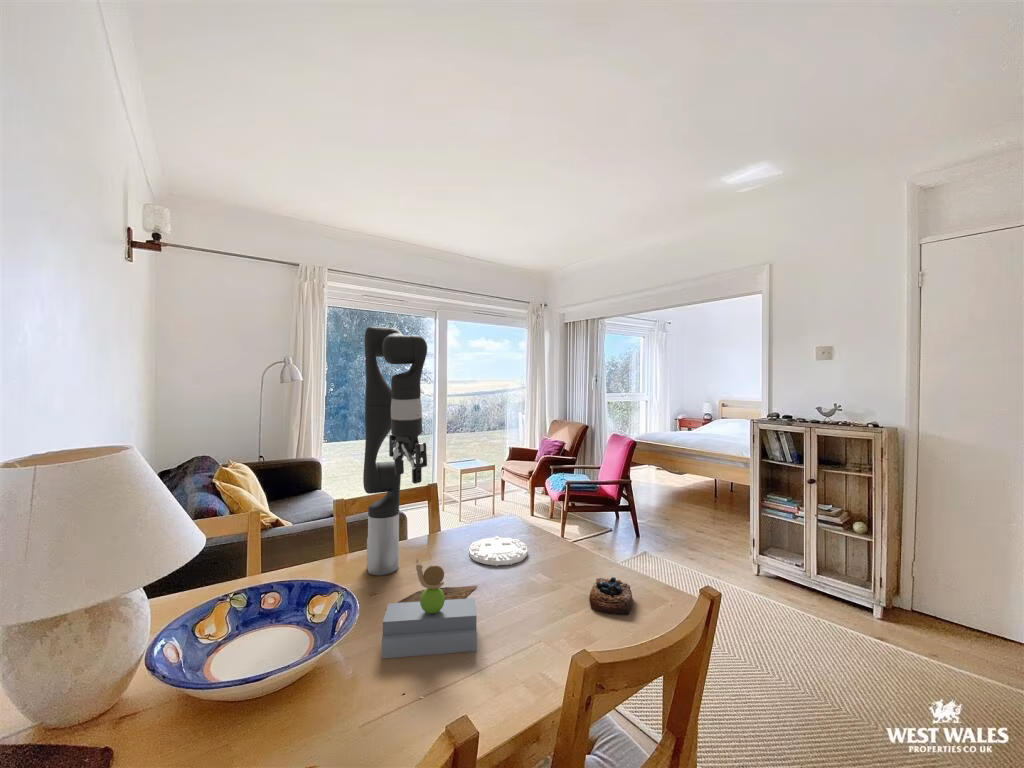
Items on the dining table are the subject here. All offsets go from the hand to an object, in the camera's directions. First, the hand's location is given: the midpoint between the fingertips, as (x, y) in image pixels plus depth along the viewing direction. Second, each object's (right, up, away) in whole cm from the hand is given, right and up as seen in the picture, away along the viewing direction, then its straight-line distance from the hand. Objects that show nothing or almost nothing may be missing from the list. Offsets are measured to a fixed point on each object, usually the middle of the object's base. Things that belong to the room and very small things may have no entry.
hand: (407, 478), depth 106 cm
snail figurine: (+8, -27, -13) cm, 31 cm away
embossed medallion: (+22, -35, +36) cm, 55 cm away
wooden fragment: (+6, -34, +6) cm, 35 cm away
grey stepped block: (+8, -34, -12) cm, 37 cm away
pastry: (+53, -35, +5) cm, 64 cm away
